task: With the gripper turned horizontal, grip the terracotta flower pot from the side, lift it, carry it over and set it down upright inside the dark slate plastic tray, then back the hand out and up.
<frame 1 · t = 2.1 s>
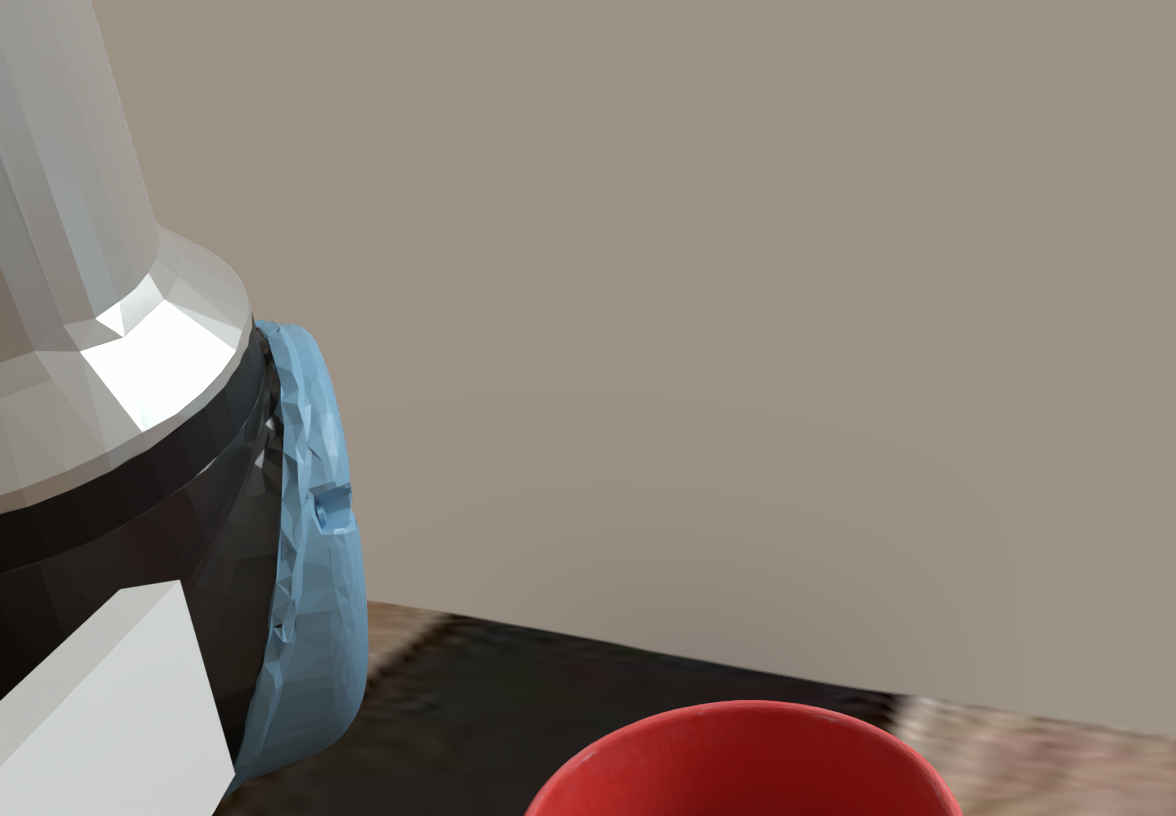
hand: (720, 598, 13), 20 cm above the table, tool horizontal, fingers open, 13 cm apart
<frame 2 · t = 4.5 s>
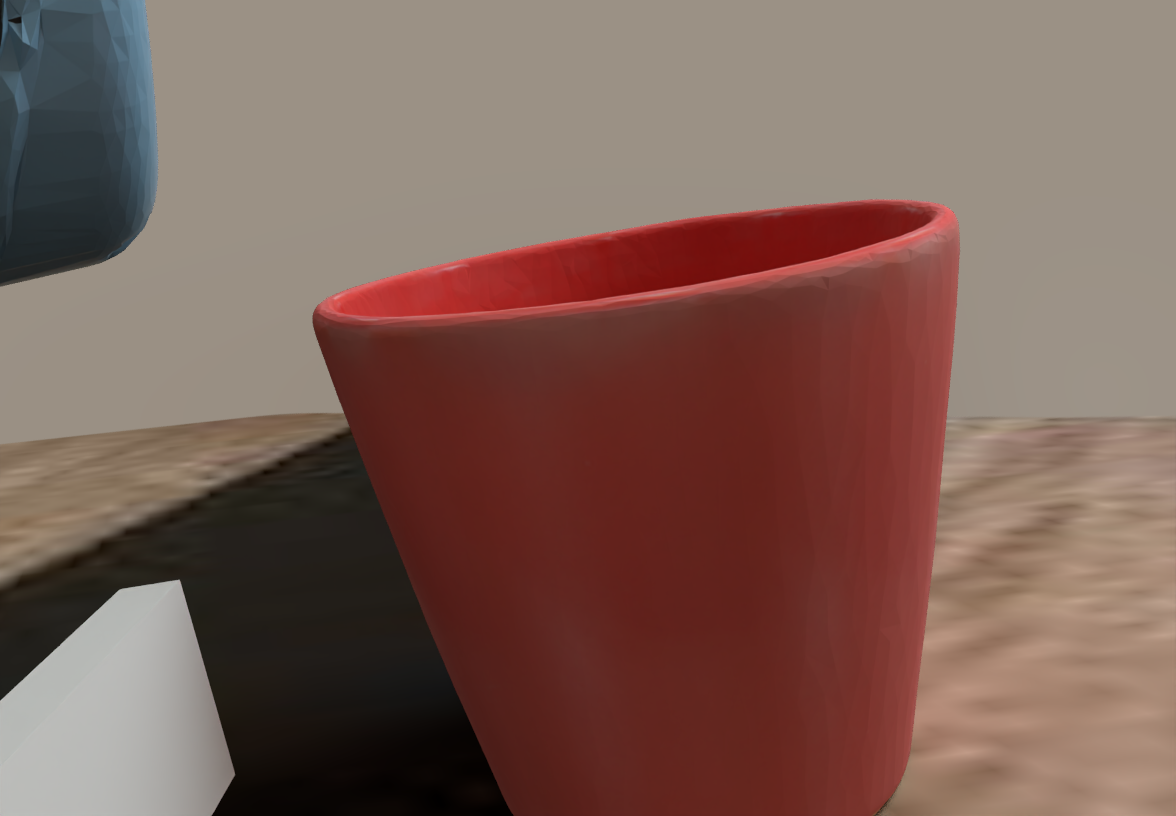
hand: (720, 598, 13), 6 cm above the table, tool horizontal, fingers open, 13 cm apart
flower pot: (707, 757, 20), on the table
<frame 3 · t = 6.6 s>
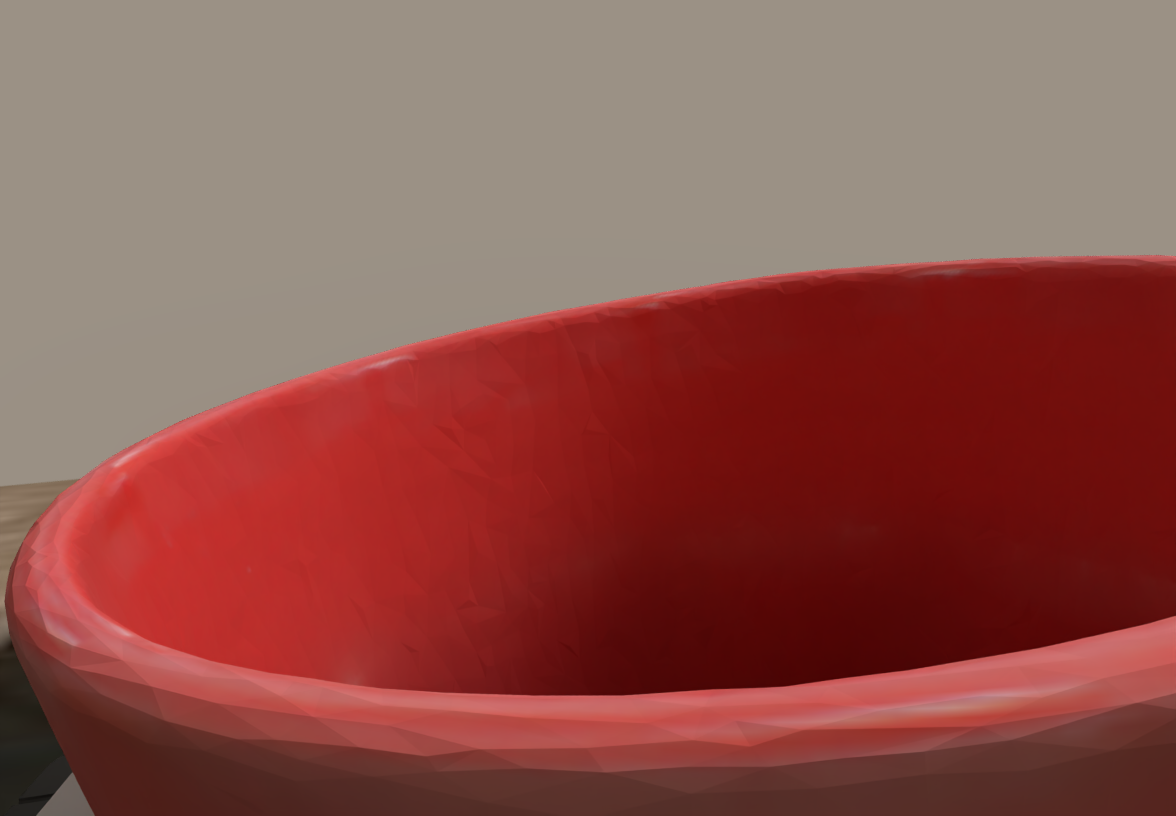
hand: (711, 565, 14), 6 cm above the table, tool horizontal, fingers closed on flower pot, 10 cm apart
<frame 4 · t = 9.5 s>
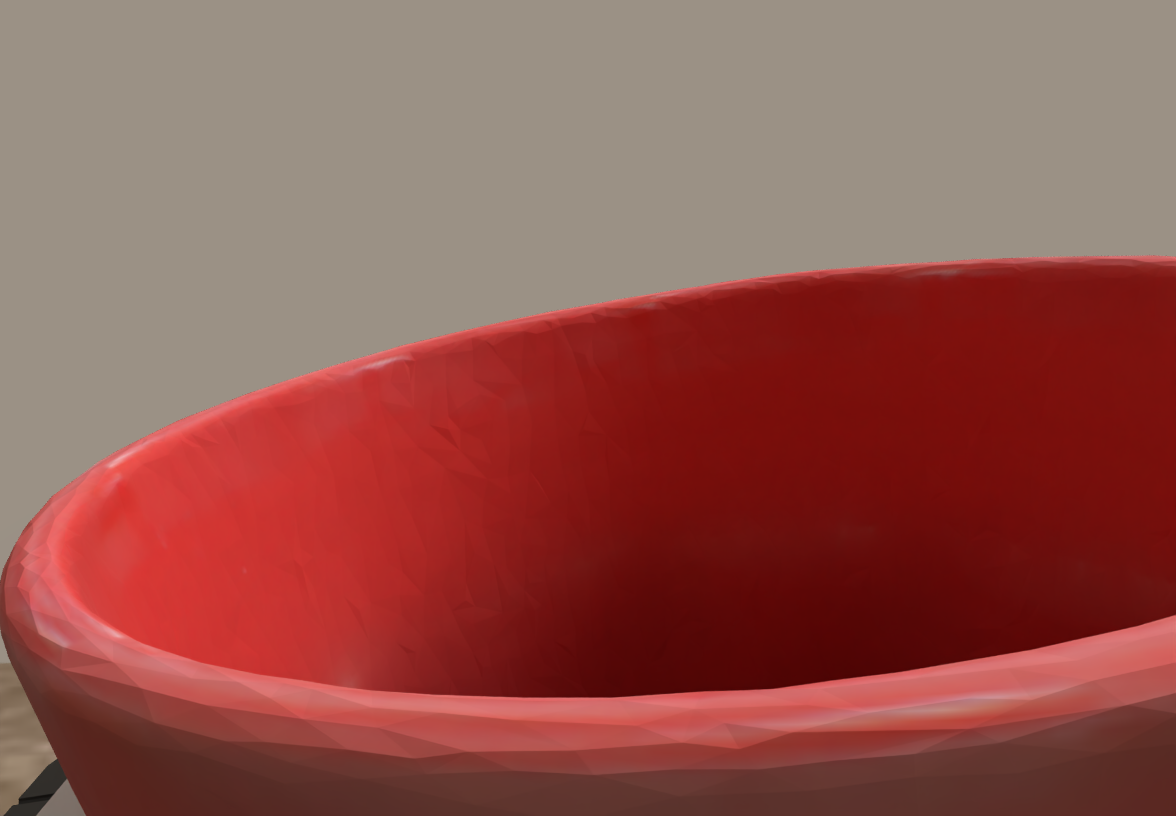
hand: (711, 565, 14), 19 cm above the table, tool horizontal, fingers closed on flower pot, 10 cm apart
when the fingers open (8 cm above the table, at t = 12.7 s): flower pot drops 2 cm, resting on tray.
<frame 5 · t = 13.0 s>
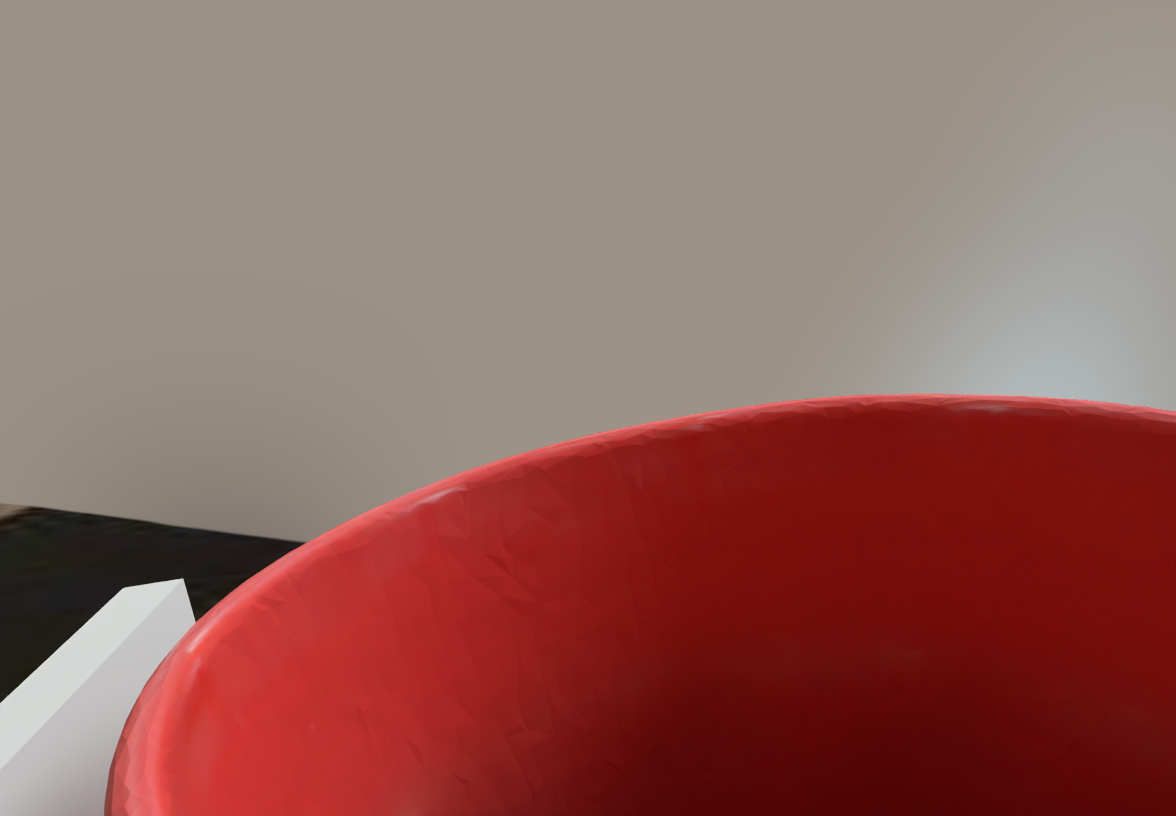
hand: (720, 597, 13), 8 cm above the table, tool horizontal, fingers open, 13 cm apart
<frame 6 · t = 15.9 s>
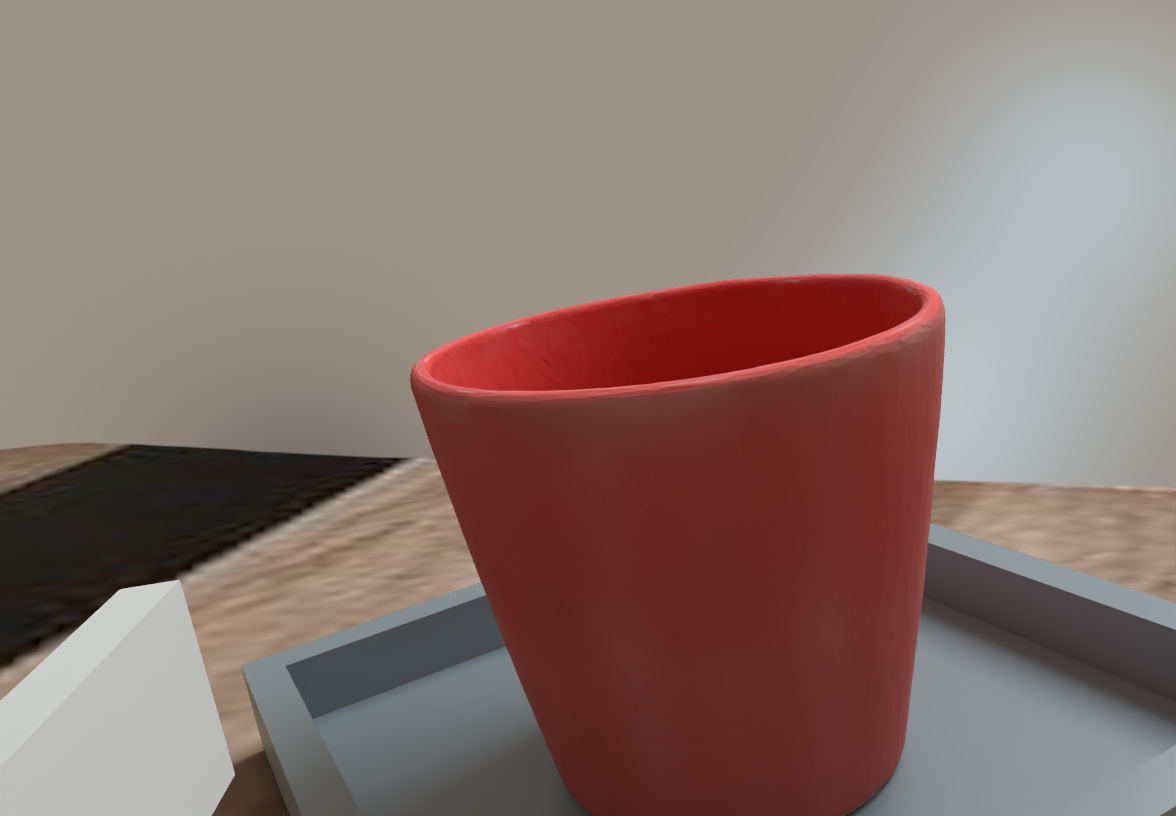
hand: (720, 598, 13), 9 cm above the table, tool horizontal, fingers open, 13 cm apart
flower pot: (733, 747, 24), point 1 cm above the table, touching tray
tray: (723, 766, 24), on the table
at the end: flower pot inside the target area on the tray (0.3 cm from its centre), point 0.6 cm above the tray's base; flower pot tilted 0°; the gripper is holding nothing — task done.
